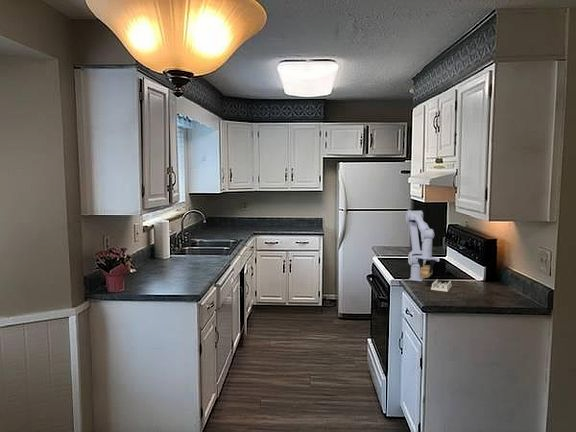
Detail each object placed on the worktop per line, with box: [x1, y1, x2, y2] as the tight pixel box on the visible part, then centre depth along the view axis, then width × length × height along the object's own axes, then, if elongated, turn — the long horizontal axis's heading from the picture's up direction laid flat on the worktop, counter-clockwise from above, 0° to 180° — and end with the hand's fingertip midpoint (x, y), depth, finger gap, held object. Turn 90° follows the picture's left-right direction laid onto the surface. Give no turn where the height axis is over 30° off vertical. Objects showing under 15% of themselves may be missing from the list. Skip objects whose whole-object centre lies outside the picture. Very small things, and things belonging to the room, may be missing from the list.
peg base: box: [430, 278, 453, 293], centre depth 263 cm, size 14×9×3 cm, turn 150°
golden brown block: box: [420, 264, 433, 279], centre depth 266 cm, size 12×4×5 cm, turn 150°
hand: (426, 272), depth 266 cm, fingers closed on golden brown block, 4 cm apart
